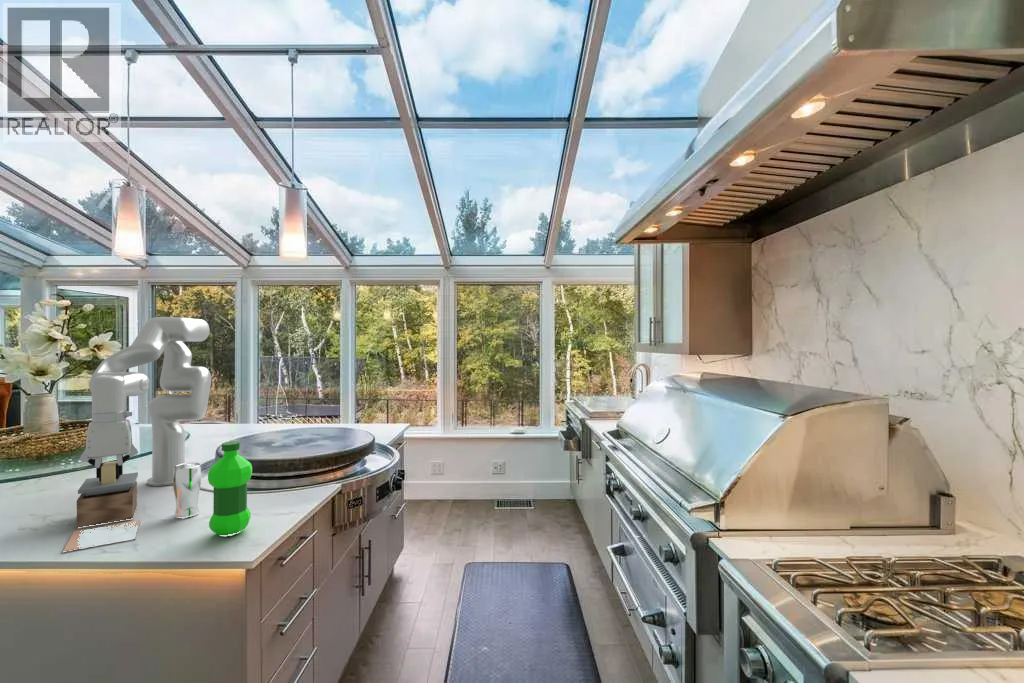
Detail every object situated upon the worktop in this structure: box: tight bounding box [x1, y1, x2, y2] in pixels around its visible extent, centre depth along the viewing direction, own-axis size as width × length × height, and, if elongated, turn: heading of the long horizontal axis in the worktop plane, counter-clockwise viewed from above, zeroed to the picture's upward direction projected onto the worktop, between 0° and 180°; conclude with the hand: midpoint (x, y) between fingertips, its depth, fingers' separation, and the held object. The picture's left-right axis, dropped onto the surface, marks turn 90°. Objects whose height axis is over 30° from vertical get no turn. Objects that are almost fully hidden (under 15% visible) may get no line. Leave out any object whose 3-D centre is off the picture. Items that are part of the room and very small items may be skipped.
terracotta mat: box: [62, 519, 141, 552], centre depth 123 cm, size 14×14×1 cm
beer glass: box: [172, 462, 202, 518], centre depth 138 cm, size 7×7×15 cm
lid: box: [77, 460, 139, 496], centre depth 136 cm, size 12×12×7 cm
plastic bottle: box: [207, 440, 253, 536], centre depth 126 cm, size 10×10×25 cm
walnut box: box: [76, 480, 138, 529], centre depth 135 cm, size 12×12×8 cm
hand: (109, 478), depth 136 cm, fingers closed on lid, 3 cm apart
